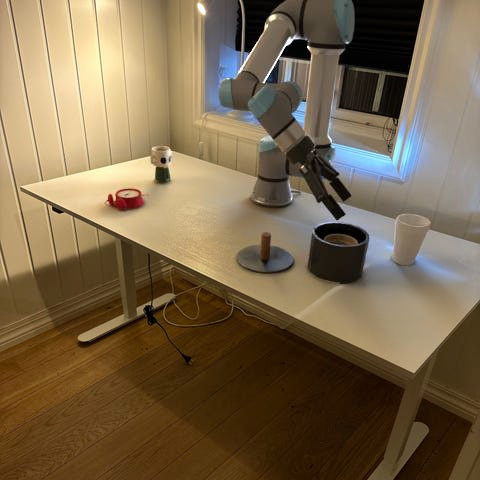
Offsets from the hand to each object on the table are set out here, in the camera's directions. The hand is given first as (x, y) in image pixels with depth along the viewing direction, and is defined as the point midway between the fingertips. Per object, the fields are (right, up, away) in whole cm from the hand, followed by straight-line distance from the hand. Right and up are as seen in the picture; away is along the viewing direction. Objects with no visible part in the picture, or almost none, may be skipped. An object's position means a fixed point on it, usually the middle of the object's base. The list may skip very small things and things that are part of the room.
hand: (344, 207), depth 129 cm
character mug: (-59, +26, +65) cm, 92 cm away
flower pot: (0, -15, +11) cm, 19 cm away
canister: (-1, -16, +11) cm, 19 cm away
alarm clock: (-69, +11, +44) cm, 83 cm away
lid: (-21, -12, +13) cm, 28 cm away
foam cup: (+21, -12, +17) cm, 30 cm away
